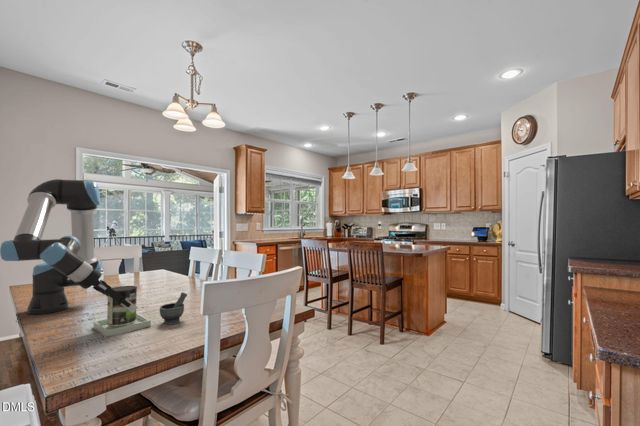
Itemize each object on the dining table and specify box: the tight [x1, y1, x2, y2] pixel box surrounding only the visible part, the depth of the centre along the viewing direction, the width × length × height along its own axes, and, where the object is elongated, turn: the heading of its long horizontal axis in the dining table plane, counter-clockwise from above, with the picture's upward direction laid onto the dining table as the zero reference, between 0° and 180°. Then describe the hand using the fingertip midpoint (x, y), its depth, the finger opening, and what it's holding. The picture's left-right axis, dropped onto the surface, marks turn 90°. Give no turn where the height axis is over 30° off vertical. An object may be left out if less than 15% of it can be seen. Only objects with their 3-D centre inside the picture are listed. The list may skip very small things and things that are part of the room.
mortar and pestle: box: [159, 292, 188, 325], centre depth 134 cm, size 11×9×12 cm
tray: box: [93, 312, 152, 338], centre depth 127 cm, size 16×16×2 cm
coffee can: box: [106, 285, 138, 327], centre depth 127 cm, size 10×10×14 cm
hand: (130, 307), depth 129 cm, fingers closed on coffee can, 10 cm apart
